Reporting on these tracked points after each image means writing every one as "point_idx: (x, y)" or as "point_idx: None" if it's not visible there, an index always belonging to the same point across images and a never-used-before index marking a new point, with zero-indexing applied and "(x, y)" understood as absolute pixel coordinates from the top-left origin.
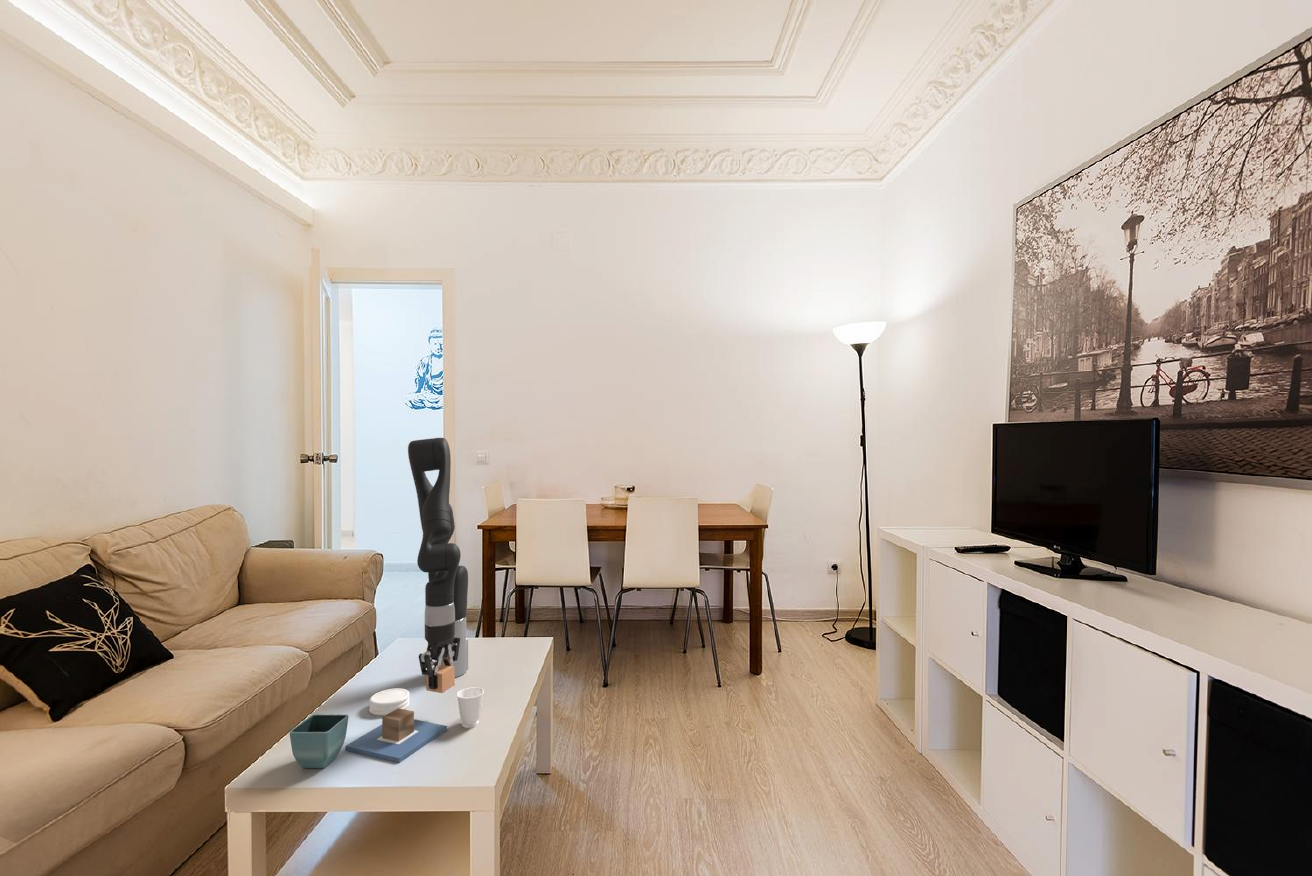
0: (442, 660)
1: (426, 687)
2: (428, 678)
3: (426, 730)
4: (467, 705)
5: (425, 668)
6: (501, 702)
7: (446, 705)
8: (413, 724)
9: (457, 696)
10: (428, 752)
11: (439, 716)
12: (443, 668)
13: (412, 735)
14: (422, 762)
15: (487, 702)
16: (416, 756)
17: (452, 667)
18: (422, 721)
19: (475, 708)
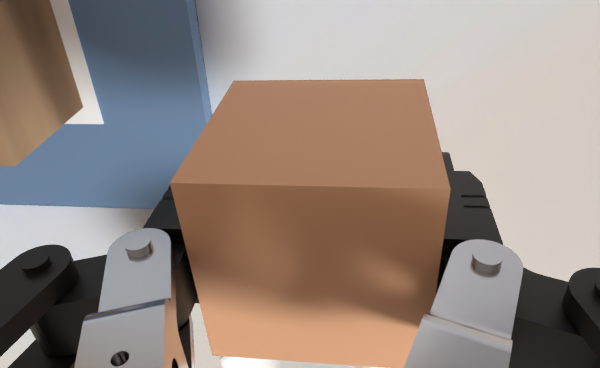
0: (434, 301)
1: (227, 94)
2: (146, 223)
3: (132, 153)
4: (244, 364)
5: (27, 323)
6: (575, 266)
7: (485, 3)
8: (56, 127)
9: (224, 357)
10: (56, 236)
11: (329, 69)
12: (337, 305)
13: None
14: (3, 256)
15: (567, 208)
16: (8, 215)
17: (393, 365)
18: (190, 63)
19: (280, 362)
